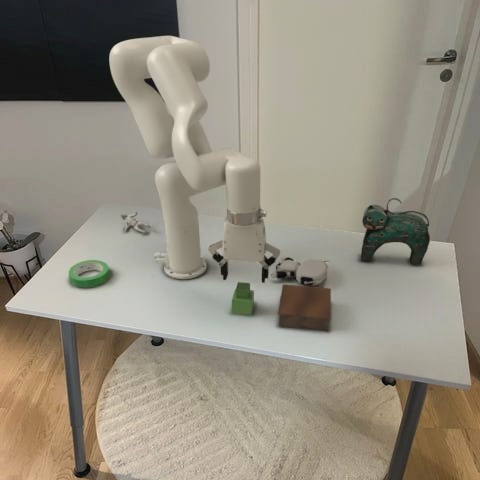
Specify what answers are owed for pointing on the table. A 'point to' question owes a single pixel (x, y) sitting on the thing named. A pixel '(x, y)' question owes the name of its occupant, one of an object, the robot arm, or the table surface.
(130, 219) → the soldier figure
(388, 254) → the table surface
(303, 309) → the walnut plinth
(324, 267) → the robot toy
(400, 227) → the ceramic cat
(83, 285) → the tape roll
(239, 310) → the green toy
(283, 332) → the table surface
